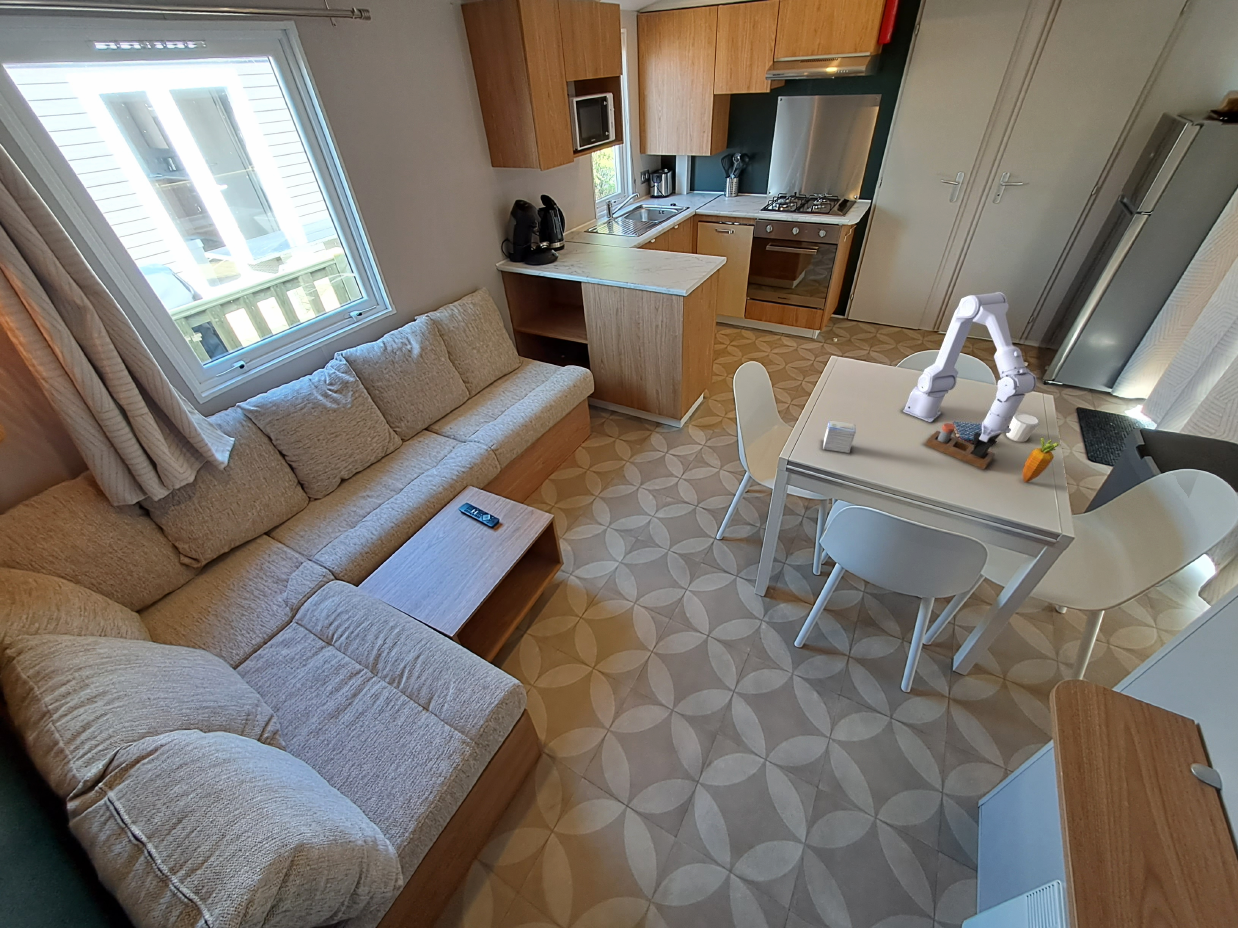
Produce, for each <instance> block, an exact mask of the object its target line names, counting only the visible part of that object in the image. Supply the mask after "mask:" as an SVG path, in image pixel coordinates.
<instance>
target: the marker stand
mask: <svg viewBox="0 0 1238 928" xmlns="http://www.w3.org/2000/svg"><path fill="white" fill-rule="evenodd" d="M940 432H941V430H936V431H934V433H933V434H932V435H930V437H928V438H927V440H926V443H925V446H926V447H929V448H931V449H933V450H936V451H938V452H940V453H943V454H945V455H947V456H950V457H952V458H955V459H957V460H960V461H962V462H965V463H967V464H969V465H972V466H974V467H975V468H979V469H981V470H985V469H986V468H987V466H989V465H990V463H991V462H992V461H993V460H994V458H995V456H996V452H993V451H990V450H988V451H987V453H986V455H985V457H984V458H983V459H982V458H980V457H977V456H975V455H972V454H973V449H974V443H968V442H965V441H963V440H960V439H958V438H959V437H955V436H953V435H951V437H950V439H949V441H948V443H947V444H945V443H943V442H940V441H938V440H937V439H938V437H939V434H940Z"/></svg>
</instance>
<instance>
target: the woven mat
mask: <svg viewBox="0 0 1238 928" xmlns="http://www.w3.org/2000/svg"><path fill="white" fill-rule="evenodd" d="M951 424H952V425H954V426H955V429H954V431H953V432H955V436H956V438H958V439H960V440H963V441H965V442H968V443H970V444H974V438H973V436H974V434H975V433H976V432H978V433H981V434H982V422H981V423H977V422H975V423H974V422H966V421H964V422H963V421H962V422H961V421H959V422H958V421H956V420H954V421H952V423H951Z"/></svg>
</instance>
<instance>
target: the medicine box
mask: <svg viewBox="0 0 1238 928" xmlns="http://www.w3.org/2000/svg"><path fill="white" fill-rule="evenodd" d="M856 433H857V432H856V424H855V423H850V422H843V421H835V420H828V423H827V427H826V431H825V435H824V438H823V443H822V444H823V445H822V449H823V450H826V451H833V452H840V453H847V454H850V452H851V448H852V445H853V442H854V439H855V436H856Z"/></svg>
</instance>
